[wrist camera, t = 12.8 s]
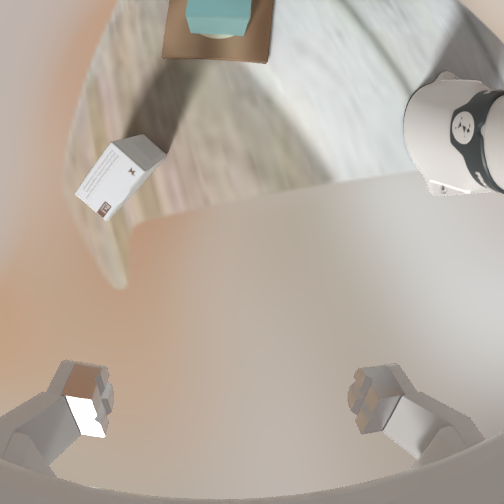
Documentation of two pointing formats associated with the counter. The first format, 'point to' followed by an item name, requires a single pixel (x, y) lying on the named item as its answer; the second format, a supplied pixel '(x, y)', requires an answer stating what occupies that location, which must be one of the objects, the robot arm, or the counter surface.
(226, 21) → the teal cube box
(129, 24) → the counter surface
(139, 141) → the skincare box
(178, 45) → the tan plate with disc
